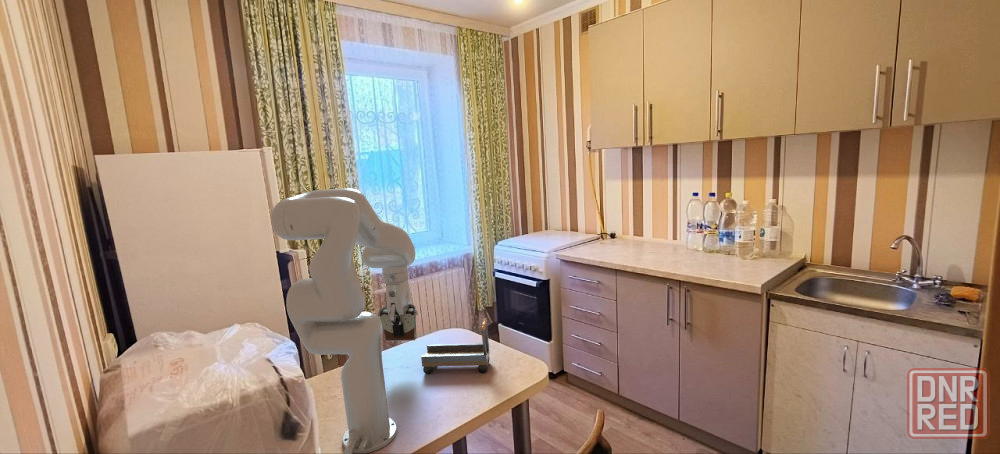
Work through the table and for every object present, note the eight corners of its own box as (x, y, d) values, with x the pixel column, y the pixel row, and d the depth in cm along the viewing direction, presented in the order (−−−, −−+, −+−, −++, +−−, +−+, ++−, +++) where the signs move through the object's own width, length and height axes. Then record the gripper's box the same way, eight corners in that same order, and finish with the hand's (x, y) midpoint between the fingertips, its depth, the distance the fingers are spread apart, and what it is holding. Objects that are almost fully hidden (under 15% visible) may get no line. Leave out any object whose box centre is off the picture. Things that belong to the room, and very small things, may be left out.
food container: (424, 331, 136) (421, 302, 134) (419, 340, 130) (416, 309, 128) (387, 332, 137) (384, 303, 135) (380, 341, 131) (377, 310, 129)
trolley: (488, 374, 128) (484, 327, 126) (423, 375, 130) (418, 329, 127) (490, 361, 136) (487, 317, 134) (429, 362, 138) (424, 319, 135)
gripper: (399, 284, 120) (405, 344, 124) (415, 268, 137) (420, 320, 140) (373, 285, 121) (380, 345, 124) (392, 269, 138) (398, 321, 141)
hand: (401, 331), depth 132 cm, fingers closed on food container, 5 cm apart
